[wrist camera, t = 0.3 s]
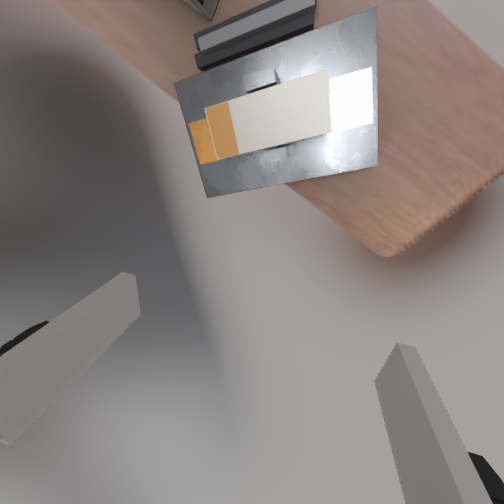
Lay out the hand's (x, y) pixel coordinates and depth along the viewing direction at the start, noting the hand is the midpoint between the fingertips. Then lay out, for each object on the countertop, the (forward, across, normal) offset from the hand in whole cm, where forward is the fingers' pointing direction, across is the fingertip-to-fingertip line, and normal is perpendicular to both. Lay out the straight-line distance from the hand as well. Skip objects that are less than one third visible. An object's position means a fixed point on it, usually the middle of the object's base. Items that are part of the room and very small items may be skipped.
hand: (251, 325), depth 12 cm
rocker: (+18, -4, +10) cm, 21 cm away
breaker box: (+26, -4, +10) cm, 28 cm away
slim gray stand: (+26, -8, +19) cm, 33 cm away
